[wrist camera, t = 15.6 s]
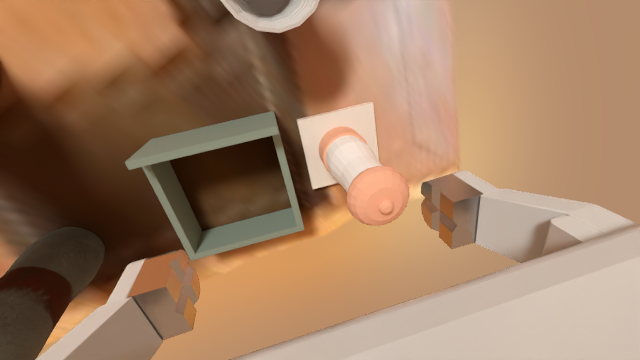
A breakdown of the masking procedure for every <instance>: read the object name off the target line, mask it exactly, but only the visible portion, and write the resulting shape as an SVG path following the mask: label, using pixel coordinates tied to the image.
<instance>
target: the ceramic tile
mask: <svg viewBox="0 0 640 360" xmlns="http://www.w3.org/2000/svg"><path fill="white" fill-rule="evenodd" d="M297 124H298V128H299V133H300V137H301V141H302V146H303V150H304V154H305V159H306V163H307V167H308V172H309V176H310V181H311V185H312V188H313V189H316V188H320V187H324V186H328V185H332V184H336V183H338V182H337V181H336V180H335V179H334V178H333V176H332V174H331V173H330V172H329V171H327V169H326V168H325V166H324V164H323V162H322V160H321V158H320V156H319V151H318V150H319V143H320V141H321V139H322V137H323V136H324V135H325V134H326V133H327V132H328V131H329V130H331V129H333V128H336V127H340V126H343V127H349V128H351V129H354V130H355V131H356V132H357V133H358V134H359V135H360V136H362V137H363V138H364V139H365V141H366V143H367V145H368V146H369V147H370V148H371V149H372V150H373V152H374V154H375V155H376V157H377V159H378V161H379V156H378V146H377V136H376V126H375V116H374V106H373V102H367V103H363V104H359V105H355V106H350V107H346V108H342V109H338V110H333V111H329V112H325V113H321V114H316V115H312V116H308V117H304V118H300V119H297Z"/></svg>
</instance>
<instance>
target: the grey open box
mask: <svg viewBox="0 0 640 360" xmlns="http://www.w3.org/2000/svg"><path fill="white" fill-rule="evenodd" d="M268 136H272V137H273V141H274V144H275V148H276V152H277V155H278V159H279V162H280V166H281V170H282V173H283V177H284V181H285V184H286V188H287V191H288V195H289V199H290V202H291V206H292V208H288V209H284V210H281V211H277V212H273V213H269V214H265V215H262V216H258V217H254V218H250V219H246V220H243V221H239V222H235V223H231V224H227V225H224V226H220V227H216V228H212V229H208V230H205V231H202V230H201V227H200V225H199V223H198V221H197V219H196V217H195V215H194V213H193V210H192V208H191V206H190V204H189V202H188V200H187V198H186V196H185V193H184V191H183V189H182V187H181V185H180V183H179V181H178V179H177V176H176V174H175V172H174V170H173V168H172V166H171V164H170V161H169V160H172V159H176V158H180V157H184V156H189V155H193V154H197V153H201V152H205V151H210V150H214V149H218V148H222V147H226V146H230V145H235V144H239V143H243V142H247V141H251V140H255V139H260V138H264V137H268ZM125 164H126V166H127V167H128V169H129V170H130V169H134V168H139V167H142V168H143V170H144V172H145V174H146V176H147V178H148V179H149V181H150V183H151V185H152V187H153V189H154V191H155V193H156V195H157V197H158V199H159V200H160V202H161V204H162V206H163V208H164V210H165V212H166V214H167V216H168V218H169V220H170V221H171V223H172V225H173V227H174V229H175V231H176V233H177V235H178V237H179V239H180V241H181V243H182V244H183V246H184V248H185V250H186V252H187V254H188V256H189V258H190V260H191V261H192V260H195V259H199V258H203V257H206V256H210V255H214V254H217V253H221V252H225V251H229V250H232V249H236V248H240V247H243V246H247V245H251V244H254V243H258V242H262V241H265V240H269V239H273V238H277V237H280V236H284V235H288V234H291V233H295V232H299V231H302V230H305V229H304V225H303V221H302V217H301V212H300V208H299V205H298V201H297V197H296V193H295V189H294V186H293V182H292V178H291V174H290V170H289V166H288V163H287V159H286V155H285V151H284V147H283V144H282V140H281V136H280V132H279V128H278V125H277V121H276V117H275V113H274V111H271V112H267V113H262V114H258V115H254V116H249V117H245V118H241V119H237V120H232V121H228V122H224V123H219V124H215V125H211V126H206V127H202V128H198V129H193V130H189V131H185V132H181V133H176V134H172V135H168V136H163V137H159V138H155V139H151V140H150V141H149V142H148V143H146V144H145V145H144V146H143V147H142V148H141V149H139V150H138V151H137V152H136V153H135V154H134V155H132V156H131V157H130V158H129V159H128V160H127V161H125Z"/></svg>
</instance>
